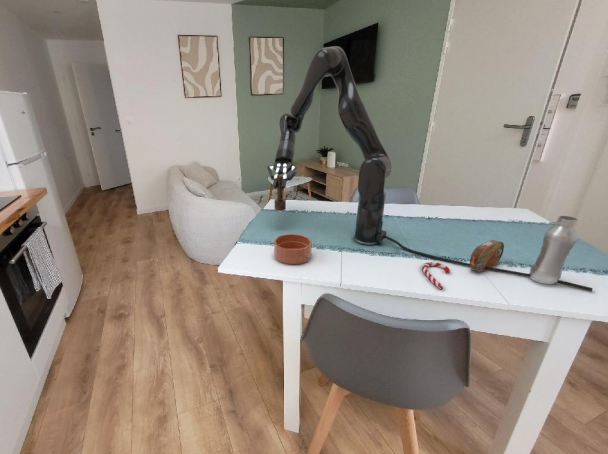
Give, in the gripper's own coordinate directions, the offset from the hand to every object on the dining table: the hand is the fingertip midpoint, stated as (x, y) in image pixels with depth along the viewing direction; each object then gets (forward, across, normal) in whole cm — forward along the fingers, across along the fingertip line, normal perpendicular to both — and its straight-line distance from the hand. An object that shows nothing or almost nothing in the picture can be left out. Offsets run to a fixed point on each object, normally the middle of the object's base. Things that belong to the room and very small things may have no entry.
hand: (278, 187), depth 120 cm
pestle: (+6, 0, +8) cm, 10 cm away
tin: (+23, +71, +5) cm, 75 cm away
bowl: (+29, +10, -1) cm, 30 cm away
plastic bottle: (+27, +84, +2) cm, 88 cm away
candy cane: (+30, +56, -2) cm, 64 cm away
